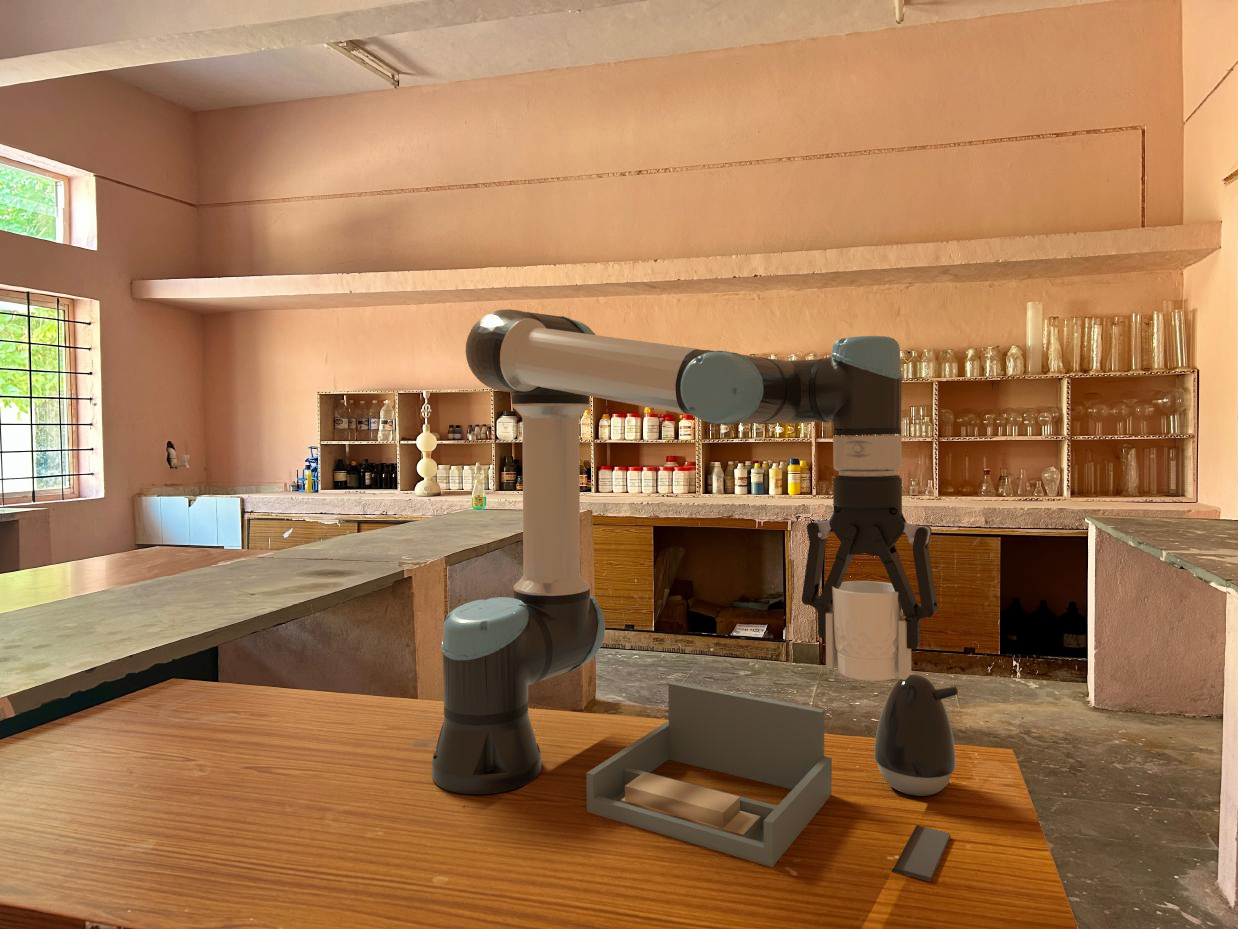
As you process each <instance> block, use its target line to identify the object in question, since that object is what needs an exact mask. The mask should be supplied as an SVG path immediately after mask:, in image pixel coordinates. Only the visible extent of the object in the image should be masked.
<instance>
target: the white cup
mask: <svg viewBox="0 0 1238 929" xmlns="http://www.w3.org/2000/svg"><path fill="white" fill-rule="evenodd" d="M832 598H833V606H832V609H833V617H834V635H835V647H836V649H837V664H838V665H837V671H838V673H839V674H840V675H842V676H844V677H846V678H850V679H853V680H859V681H867V682H883V681H889V680H894V679H895V678H897V677H899V636H898V621H899V620H900V619H902V618H903V614H904V612H903V610H902V607H901V605H900V602H899V600H898V592H895V590H894V588H893V585H892V583H891V582H884V581H872V580H850V581H843V582H842V584H841V586H840V587H839V589H836V588H835V587H834V586H832Z"/></svg>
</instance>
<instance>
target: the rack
mask: <svg viewBox="0 0 1238 929" xmlns="http://www.w3.org/2000/svg"><path fill="white" fill-rule="evenodd" d="M667 691H668V721H665V722H664V723H662V724H660V725H659V726H657V727H656V728H654V729H652V730H651V731H649V732H648V733H646V734H645V735H643V736H642V737H640V738H638V739H637V740H636V741H634V742H633V743H631V744H629V745H628V746H626V747H624V748H623V749H621V750H619V751H618V752H617V753H615V754H614V755H612V756H610V757H609V758H607V759H606V760H604V761H603V762H601V763H599V764H598V765H596V766H595V767H593V768H592V769H590V770H589V771H587V772H586V779H585V780H586V812H587V813H590V814H593V815H597V816H600V817H604V818H607V819H610V820H614V821H617V822H620V823H622V824H626V825H630V826H634V827H637V828H640V829H643V830H646V831H649V832H653V833H657V834H660V835H663V836H666V837H670V838H673V839H676V840H680V841H682V842H686V843H690V844H694V845H697V846H700V847H703V848H707V849H710V850H713V851H717V852H719V853H722V854H727V855H730V856H734V857H736V858H740V859H743V860H747V861H749V862H753V863H756V864H760V865H764V866H767V867H770V868H773V867H774V866H775V865H776V864H777V862H779V860H780V859H781V858H782V856H783V855H784V854H785V853H786V851H788V848H790V846H791V845H792V844H793V843H794V842H795V840H796V839H797V837H798V836H800V834H801V833H802V831H803V830H804V829H805V828H806V827H807V826H808V824H809V823H810V822H811V821H812V819H814V817H815V816H816V814H818V812H819V811H820V809H821V808H822V807H823V806H824V804H825V803H826V802H827V801H828V799H829V798H830V797H831V796H832V788H833V787H832V783H833V780H832V779H833V777H832V775H833V774H832V773H833V772H832V771H833V770H832V768H833V766H832V764H833V763H832V762H833V761H832V760H833V759H832V758H833V757H831V756H827V755H825V709H823V708H817V707H813V706H808V705H803V704H796V703H791V702H785V701H781V700H775V699H771V698H770V699H769V698H764V697H759V696H758V697H757V696H753V695H749V694H748V695H747V694H742V693H739V692H738V693H737V692H731V691H726V690H720V689H715V688H709V687H704V686H699V685H694V684H688V683H682V682H677V681H674V680H673V681H670V682H669V683H668V690H667ZM668 761H674V762H677V763H682V764H685V765H690V766H694V767H699V768H703V769H707V770H711V771H715V772H719V773H722V774H723V773H724V774H727V775H731V776H735V777H739V778H743V779H747V780H748V779H749V780H751V781H756V782H761V783H763V784H768V785H773V786H777V787H781V788H785V789H789V790H791V791H790V792H788V794H787V795H786V796H784V798H783V799H782V800H781V801H780V802H779V803H778V804H772V803H768V802H764V801H760V800H756V799H752V798H749V797H745V796H740V795H737V794H733V793H729V792H727V791H726V792H725V791H722V790H721V791H720V790H717V789H715V788H710V787H705V786H702V785H699V784H694V783H690V782H687V781H682V780H678V779H674V778H671V777H667V776H663V775H659V774H655V773H653V772H654V770H656V769H658V768H659V767H660V766H661V765H663V764H664V763H665V762H668ZM644 772H646V773H649V774H653V775H657V776H661V777H665V778H669V779H673V780H677V781H681V782H684V783H688V784H692V785H696V786H700V787H704V788H708V789H712V790H716V791H719V792H723V793H727V794H731V795H735V796H739V797H740V811H743V812H747V813H750V814H754V815H758V816H761V832H760V833H759V834H758V835H757V836H756V837H755V838H754V839H753V840H752V839H748V838H745V837H741V836H738V835H734V834H731V833H727V832H724V831H720V830H717V829H713V828H710V827H706V826H703V825H699V824H696V823H692V822H689V821H685V820H682V819H678V818H675V817H671V816H668V815H664V814H661V813H657V812H654V811H650V810H647V809H643V808H639V807H636V806H632V805H629V804H625V803H622V802H621V799H623V798H624V797H625V785H627V784H628V783H630V782H631V781H633V780H634V779H635V778H637V777H638V776H640V775H641V774H642V773H644Z"/></svg>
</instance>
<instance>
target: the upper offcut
mask: <svg viewBox="0 0 1238 929" xmlns="http://www.w3.org/2000/svg"><path fill="white" fill-rule="evenodd" d="M653 774H654V773H652V774H649V773H646V772H644V773H642V774H641V775H640V776H638V777H637V778H635V779H634V780H633V781H631V782H630V783H628V784H627V785H625V801H629V802H632V803H636V804H639V805H643V806H646V807H650V808H653V809H657V810H661V811H664V812H668V813H671V814H675V815H678V816H682V817H685V818H689V819H692V820H696V821H699V822H703V823H707V824H710V825H714V826H717V827H721V828H724V827H725V826H726V825H727V824H728V823H729V822H730V821H731V820H732V819H733V818H734V817H735V816H736V815H737V814H738V813H739V812H740V797H739V796H740V795H738V796H735V795H736V794H734V795H731V794H732V793H730V794H727V793H728V792H726V793H723V792H724V791H722V792H719V791H720V790H718V791H716V790H717V789H714V790H712V789H713V788H710V789H708V788H709V787H706V788H704V787H705V786H702V787H700V786H701V785H699V786H696V785H697V784H695V785H692V784H693V783H691V784H688V783H689V782H687V783H684V782H685V781H683V782H681V781H682V780H679V781H677V780H678V779H675V780H673V779H674V778H671V779H669V778H670V777H667V778H665V777H666V776H663V777H661V776H662V775H660V776H657V775H658V774H656V775H653Z"/></svg>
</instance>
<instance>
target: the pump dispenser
mask: <svg viewBox="0 0 1238 929" xmlns="http://www.w3.org/2000/svg"><path fill="white" fill-rule="evenodd" d="M958 694H959V690H958V687H956V686H950V687H943V688H942V687H941V688H936V686H935V685H934V684H933V682H932V681H931V680H930V679H929V678H927V677H926V676H924V675H921V674H917V673H911V674H910V676H909V677H908V678H907V679H906V680H903V679H899V678H898V680H897V681H896V682H895V683H894V685H893V686H892V687H891V690H890V691H889V693H888V695H887V698H885V699H886V700H885V702H884V704H883V707H882V710H881V713H880V715H879V719H878V724H877V728H876V733H875V734H876V735H875V740H874V748H873V749H874V750H873V752H874V753H873V756H874V757H873V758H874V760H875V761H876V763H877V767H878V770H879V772H880V775H881V777H882V779H883V780H885V782H886V783H887V784H888V785H889V786H890V787H891V788H893V789H895V790H897V791H898V792H901V793H903V794H906V795H910V796H915V797H922V796H923V797H926V796H927V797H928V796H931V795H934V794H937V793H939V792H941V791H942V790H944V788H946V786H947V785H948V783H949V782H950V781H951V778H952V775H953V772H954V771H955V770H956V767H957V766H956V763H957V762H956V761H957V760H956V759H957V758H956V748H955V741H954V740H955V739H954V734H953V730H952V729H953V728H952V726H951V721H950V718H949V715H948V713H947V712H948V711H947V710H946V707H945V704H944V702H943V700H945V699H948V698H951V697H952V698H953V697H954V696H958Z"/></svg>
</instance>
